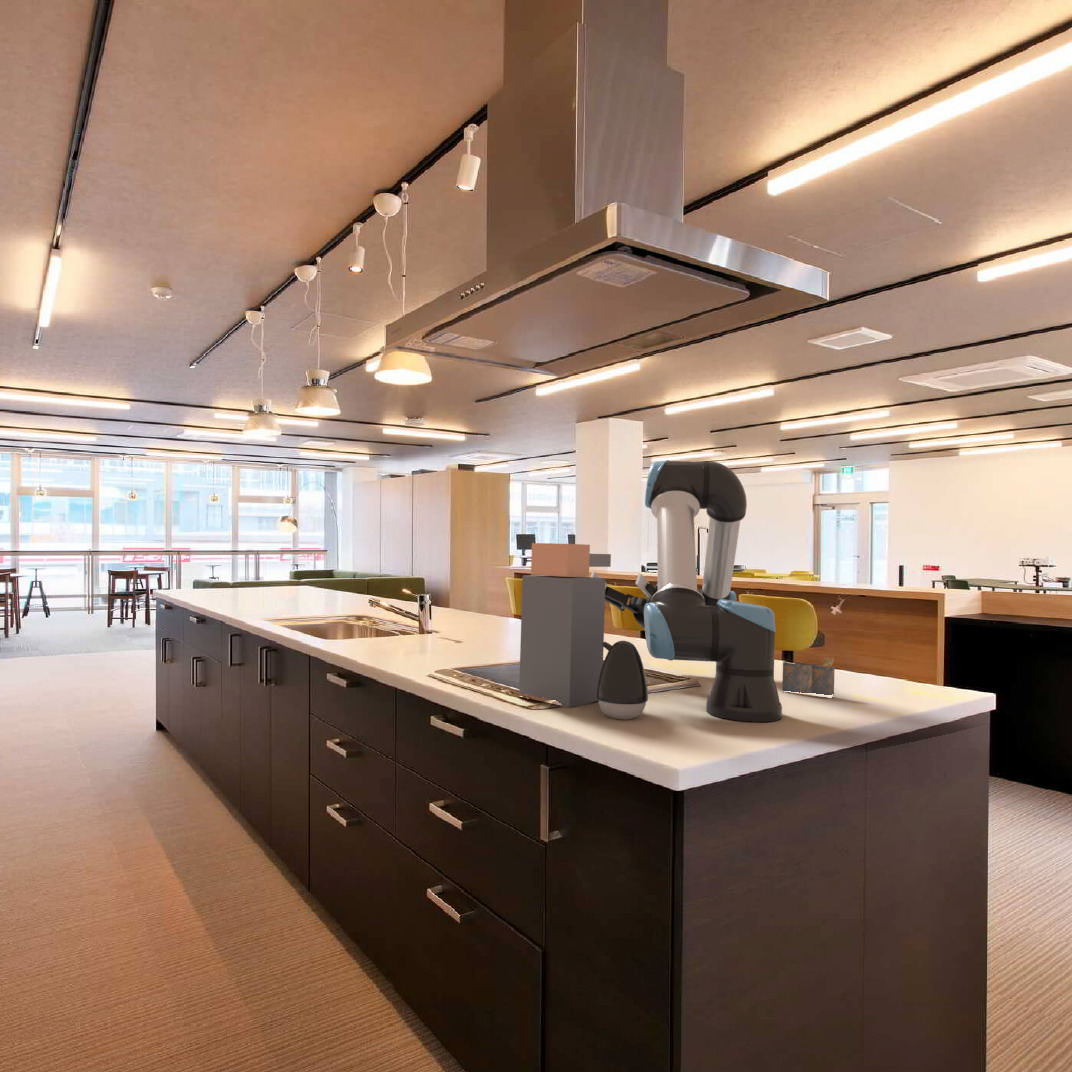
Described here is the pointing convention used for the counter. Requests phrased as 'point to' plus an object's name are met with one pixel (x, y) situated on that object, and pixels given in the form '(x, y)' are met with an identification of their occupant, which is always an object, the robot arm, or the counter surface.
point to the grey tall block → (562, 638)
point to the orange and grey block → (565, 560)
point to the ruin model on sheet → (809, 677)
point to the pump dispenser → (622, 682)
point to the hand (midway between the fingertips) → (614, 577)
